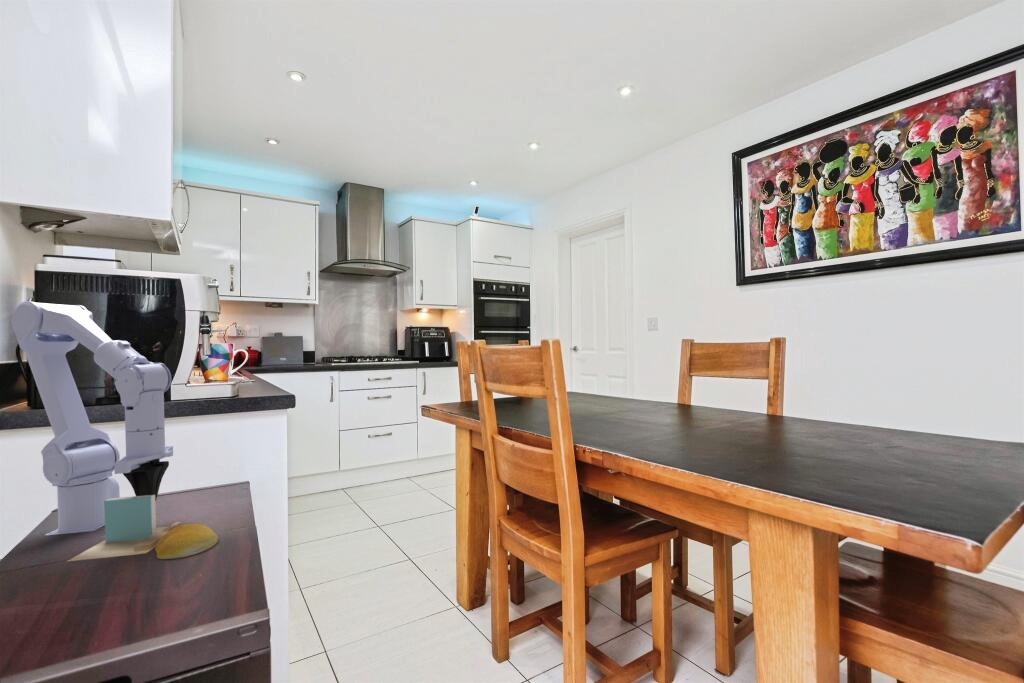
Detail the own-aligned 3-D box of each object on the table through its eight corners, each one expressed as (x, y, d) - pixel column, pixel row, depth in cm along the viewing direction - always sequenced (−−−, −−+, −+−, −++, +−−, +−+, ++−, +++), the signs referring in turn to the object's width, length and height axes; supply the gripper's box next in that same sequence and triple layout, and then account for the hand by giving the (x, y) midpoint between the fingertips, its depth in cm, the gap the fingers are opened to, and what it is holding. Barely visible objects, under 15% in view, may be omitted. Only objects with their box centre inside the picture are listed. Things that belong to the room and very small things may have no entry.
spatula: (170, 527, 87) (170, 522, 87) (185, 525, 88) (185, 521, 88) (133, 551, 76) (133, 546, 76) (151, 549, 77) (151, 544, 77)
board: (120, 534, 86) (120, 531, 86) (187, 528, 88) (187, 524, 88) (66, 565, 74) (66, 561, 74) (146, 556, 75) (146, 553, 75)
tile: (111, 539, 82) (110, 498, 83) (156, 534, 84) (155, 494, 84) (105, 542, 81) (104, 501, 81) (151, 538, 82) (150, 497, 82)
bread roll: (159, 569, 71) (158, 542, 71) (154, 552, 78) (153, 527, 78) (223, 552, 77) (222, 526, 77) (213, 537, 83) (212, 514, 83)
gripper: (146, 434, 81) (148, 514, 81) (189, 422, 95) (191, 491, 95) (99, 437, 80) (101, 519, 80) (149, 425, 94) (151, 494, 94)
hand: (147, 504), depth 87 cm, fingers closed
